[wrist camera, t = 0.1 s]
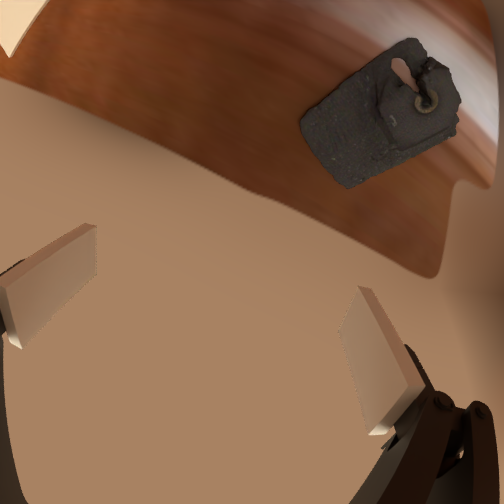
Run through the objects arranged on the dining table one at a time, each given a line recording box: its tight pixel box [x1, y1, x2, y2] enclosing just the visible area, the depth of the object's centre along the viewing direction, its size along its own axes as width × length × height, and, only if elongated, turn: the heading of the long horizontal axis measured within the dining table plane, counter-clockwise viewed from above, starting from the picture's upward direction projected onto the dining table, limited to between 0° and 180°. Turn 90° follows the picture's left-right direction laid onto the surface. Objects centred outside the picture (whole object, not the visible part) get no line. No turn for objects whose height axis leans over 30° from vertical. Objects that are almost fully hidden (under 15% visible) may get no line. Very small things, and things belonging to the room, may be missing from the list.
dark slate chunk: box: [300, 38, 461, 189], centre depth 30 cm, size 15×22×5 cm
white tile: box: [0, 0, 50, 58], centre depth 20 cm, size 14×14×1 cm
